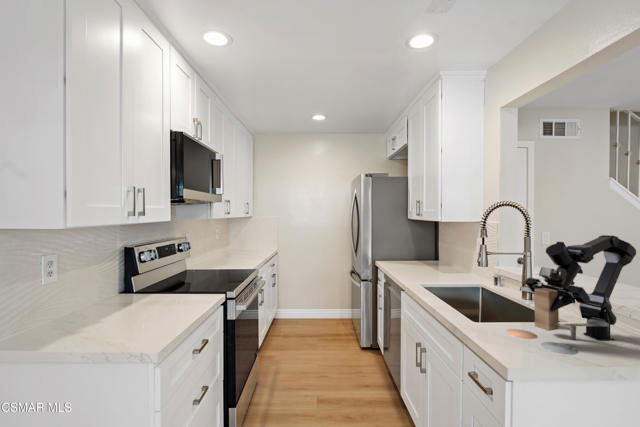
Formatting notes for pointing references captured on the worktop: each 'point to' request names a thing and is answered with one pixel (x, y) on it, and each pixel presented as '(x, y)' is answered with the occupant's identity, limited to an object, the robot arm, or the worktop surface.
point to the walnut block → (546, 309)
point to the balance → (589, 323)
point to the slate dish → (559, 348)
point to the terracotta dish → (521, 333)
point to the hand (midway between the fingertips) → (543, 308)
